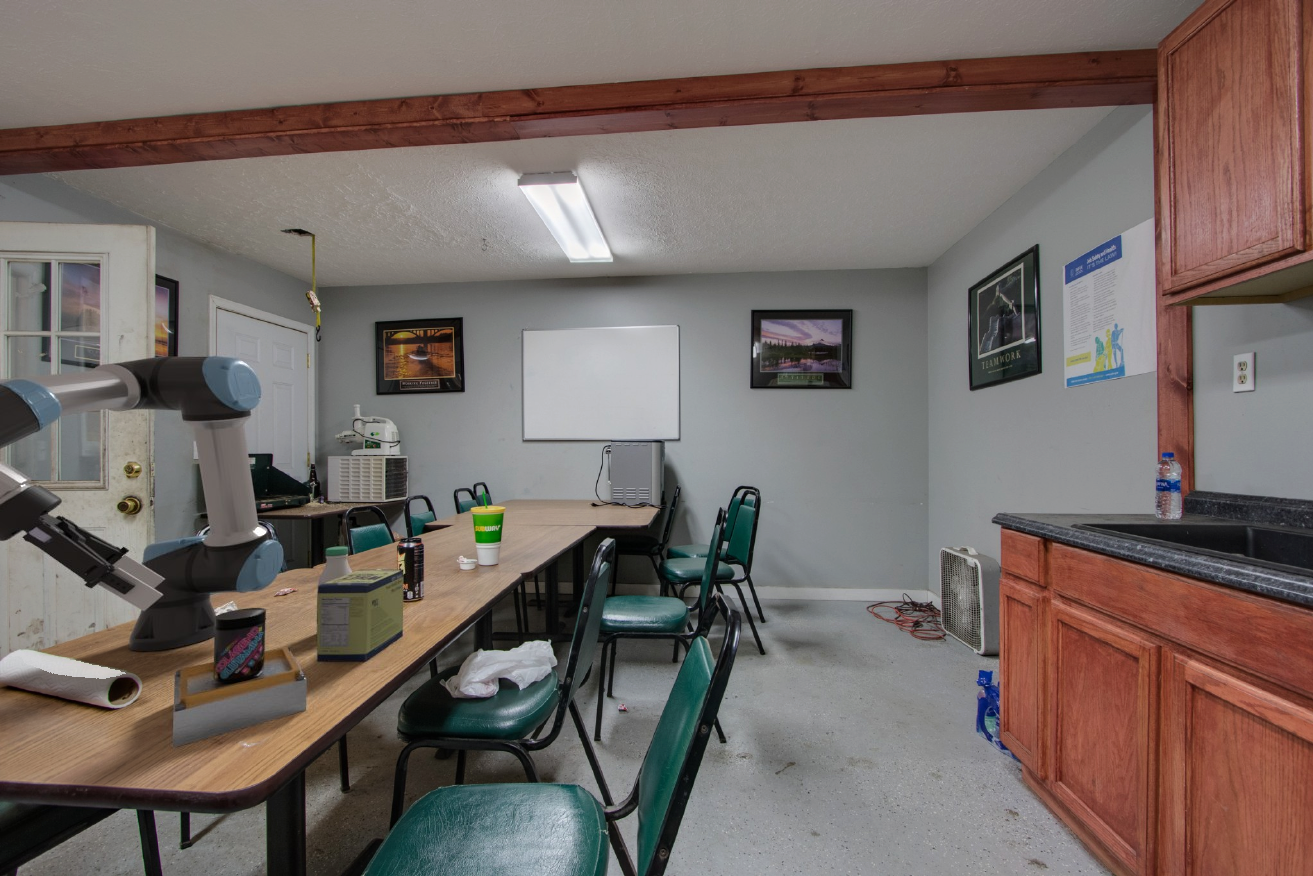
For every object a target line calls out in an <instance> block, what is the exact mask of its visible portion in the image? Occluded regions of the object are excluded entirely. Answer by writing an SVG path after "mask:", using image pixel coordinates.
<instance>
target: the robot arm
mask: <svg viewBox="0 0 1313 876" xmlns="http://www.w3.org/2000/svg"><path fill="white" fill-rule="evenodd" d="M261 387H262V386H261V382H260V380H259V377H258V375H257V374H256V372H255V371H254V369H253V368H252V367H251V366H250V365H248V363H246V362H245V361H243V360H241V359H239V358H236V357H230V356H229V357H227V356H219V355H217V356H216V355H211V356H209V355H208V356H164V355H163V356H156V357H155V356H154V357H148V358H141V359H136V360H127V361H122V362H117V363H116V362H114V363H106V364H105V363H104V364H100V365H97V366H95V368H93V369H92V370H86V371H77V372H65V373H56V374H55V373H54V374H46V375H45V374H44V375H35V376H25V377H24V376H23V377H13V378H4V379H3V378H2V379H0V450H2V449H3V448H5V447H7V446H10V445H12V444H14V443H15V442H18V441H20V440H22V439H24V438H26V437H28V436H30V435H33V434H34V433H38V432H40V431H42V430H43V429H45V427H47V426H49V425H51V424H52V423H54V422H56V421H57V420H58V419H59V418H60V417H66V416H72V415H77V414H83V413H88V412H89V413H90V412H94V411H95V412H96V411H101V410H109V411H113V412H126V411H127V412H128V411H131V410H152V411H153V410H157V411H158V410H159V411H180V413H181V418H182V422H184V423H185V424H186V425H189V426H190V427H192V428H193V432H194V439H195V446H196V451H197V456H198V464H199V471H200V475H201V482H202V487H203V493H204V502H205V506H206V513H207V521H208V525H209V531H210V532H209V533H208V534H203V535H202V534H201V535H196V536H189V537H182V538H175V539H169V540H164V541H158V542H153V543H151V544H149V545H147V546H146V547H145V548H144V549H143V556H142V562H141V563H140V562H139V561H137V560H136V559H134V558H133V557H131V556H129V555H127V554H128V553H129V552H130V550H129V549H128V548H127V547H125V546H122V547H121V548H120V547H119V546H115V545H113V544H112V543H109V542H108V541H106V540H105V539H103V538H101V537H100V536H97V535H96V534H93V533H92V532H90V531H88V530H86V529H85V528H82V527H80V526H79V525H77V524H76V523H75V522H74V521H73V520H70V519H68V518H66V517H64V516H63V515H57V516H55V517H54V516H52V515H50V514H49V513H50V512H52V511H54V510H55V509H56V508H58V506H60V505H61V504H62V501H63V499H62V498H61V497H59V496H58V495H56V494H55V493H53V492H51V491H50V490H48V489H47V488H46V487H43V486H42V485H40V484H38V485H37V484H34V485H32V484H30V483H31V482H32V478H31V477H30V476H29V477H28V476H27V475H26V474H24V473H23V472H21V471H20V470H18V469H17V468H14V467H13V466H11V465H10V464H9V463H7V462H5V461H4V460H2V459H0V542H5V541H8V540H10V539H12V538H14V537H15V536H17V535H18V534H19V533H22V532H25V533H26V534H24V535H23V536H22V539H23V540H24V541H25V542H27V543H30V544H31V545H33V546H35V547H37V548H38V549H40V550H41V551H43V552H44V553H45V554H47V555H49V557H51V558H53V559H54V560H55V561H57V562H58V563H60V564H61V565H62V566H63V567H65V568H67V569H68V570H70V571H71V572H72V573H74V574H75V575H76V576H78V577H79V578H81V579H82V580H83V581H84V582H85V583H84V586H85V587H87V588H88V589H93V588H94V587H96V586H97V585H98V586H100V587H102V588H103V589H105V590H107V591H108V592H110V593H112V594H113V595H115V596H117V597H118V598H121V599H122V600H124V601H125V602H127V603H129V604H131V605H133V606H135V607H136V608H137V609H140V613H139V616H138V618H137V619H136V622H135V624H134V627H133V629H132V630H131V633H130V636H129V638H128V640H129V642H128V648H129V650H131V651H136V652H153V651H163V650H169V649H175V648H179V647H180V648H181V647H185V646H190V645H192V644H196V643H199V642H200V643H201V642H203V641H206V640H209V639H211V638H213V637H214V633H215V628H214V626H215V616H217V614H216V612H215V610H214V607H213V604H212V602H211V594H213V593H214V594H216V593H217V594H222V593H223V594H224V593H229V594H230V593H240V594H245V593H247V592H249V593H250V592H259V591H263V590H264V589H267V588H268V587H269V586H270V585H271V584H272V583H273V582H274V581H275V579H276V578H277V577H278V575H279V572H280V571H281V569H282V566H283V562H284V548H283V546H282V544H281V543H280V541H278V540H274V539H269V532H268V529H267V528H266V527H265V526H264V525H261V524H259V519H258V513H257V506H256V499H255V498H256V497H255V492H254V485H253V478H252V471H251V465H250V464H251V463H250V458H249V457H250V456H249V452H248V451H249V450H248V444H247V437H246V430H245V424H246V422H247V421H248V420H250V419H251V418H252V413H251V410H253V409H255V408H256V407H257V406H258V405H259V403H260V402H261V401H260V399H261V397H262V388H261ZM208 638H209V639H208ZM184 645H185V646H184Z"/></svg>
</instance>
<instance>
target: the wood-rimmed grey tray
mask: <svg viewBox="0 0 1313 876" xmlns="http://www.w3.org/2000/svg"><path fill="white" fill-rule="evenodd" d="M213 666H214V661H212V662H208V663H202V664H198V665H193V666H188V667H187V666H186V667H183V668H180V669H178V670H176V671H175V674H174V684H173V685H174V688H173V689H174V691H173V724H172V725H173V726H172V748H177V747H181V746H184V745H187V744H191V743H194V742H198V741H202V740H205V739H210V738H212V737H216V736H220V735H223V734H226V733H230V732H234V731H237V730H241V729H245V728H248V727H252V726H256V725H259V724H262V723H266V722H269V720H270V721H273V720H276V719H280V718H283V717H287V716H290V715H294V714H297V713H301V711H302V712H305V711H307V693H308V691H307V689H308V686H307V683H308V680H307V677H306V673H304V671H302V669H301V666H300V665H299V663H298V662H297V660H296V658H295V656H294V655H293V653H292V651H291V647H288V646H285V647H284V646H283V647H279V648H276V649H270V650H269V649H268V650H265V657H264V670H263V672H262V673H261V674H260V675H258V676H257V677H255V678H252V679H250V680H247V681H243V682H239V683H234V684H218V683H216V682H215V681H214V679H213Z"/></svg>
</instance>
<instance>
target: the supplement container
mask: <svg viewBox="0 0 1313 876" xmlns="http://www.w3.org/2000/svg"><path fill="white" fill-rule="evenodd" d="M266 615H267V609H266V608H262V607H248V608H240V609H234V610H229V611H225V612H222V613H219V614H216V616H215V626H214V628H215V633H214V636H213V637H214V639H213V640H214V641H213V662H214V666H213V679H214V681H215V682H216V683H218V684H234V683H239V682H243V681H247V680H250V679H252V678H255V677H257V676H258V675H260V674H261V673H262V672H263V670H264V657H265V651H266V647H265V646H266V620H267V617H266Z"/></svg>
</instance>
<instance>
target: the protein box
mask: <svg viewBox="0 0 1313 876" xmlns="http://www.w3.org/2000/svg"><path fill="white" fill-rule="evenodd" d="M317 591H318V629H317V628H316V635H317V636H316V639H317V643H316V661H317V662H367V661H368V660H370V659H371V658H373V657H374V656H375V655H378V654H379V653H380V652H382V651H383V650H384V649H386V648H387V647H389V646H390V645H392V644H393V643H395V642H397V641H398V640H399V639H400V638H402V637H403V636H404V635H403V634H404V633H403V631H404V630H403V629H404V569H403V568H402V569H358V570H356V571H352V573H350V574H348V575H345V576H342V577H340V578H337V579H334V580H332V581H329V582H326V583H323V584H321V585H319V586H318V585H317Z"/></svg>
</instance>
